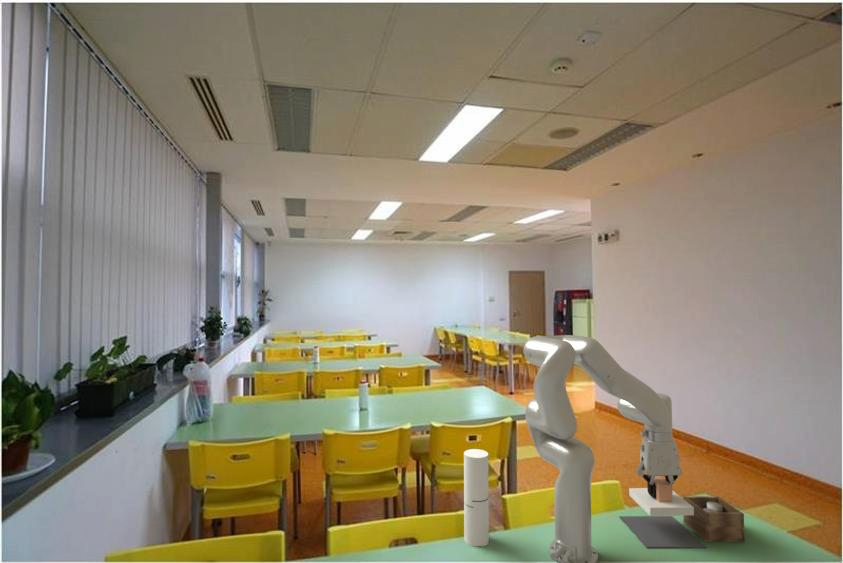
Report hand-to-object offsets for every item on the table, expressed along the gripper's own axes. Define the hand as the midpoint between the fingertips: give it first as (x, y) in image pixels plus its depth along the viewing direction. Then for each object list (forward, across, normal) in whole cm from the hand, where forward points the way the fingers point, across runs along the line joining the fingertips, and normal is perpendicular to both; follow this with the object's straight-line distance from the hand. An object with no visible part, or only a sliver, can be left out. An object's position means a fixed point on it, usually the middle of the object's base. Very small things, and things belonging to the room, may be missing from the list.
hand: (660, 495), depth 132 cm
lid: (+3, 0, 0) cm, 3 cm away
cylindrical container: (+10, -56, -4) cm, 57 cm away
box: (+11, +16, 0) cm, 19 cm away
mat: (+11, 0, 0) cm, 11 cm away
